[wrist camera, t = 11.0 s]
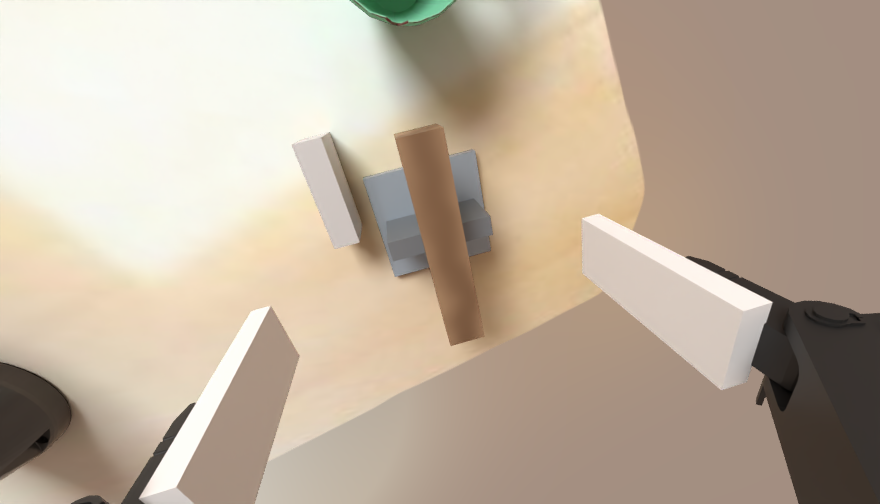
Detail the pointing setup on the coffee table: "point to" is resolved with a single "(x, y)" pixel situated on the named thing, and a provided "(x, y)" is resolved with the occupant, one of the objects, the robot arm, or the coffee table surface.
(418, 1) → the mug
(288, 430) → the coffee table surface
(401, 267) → the fulcrum
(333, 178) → the post
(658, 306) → the robot arm
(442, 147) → the plank
